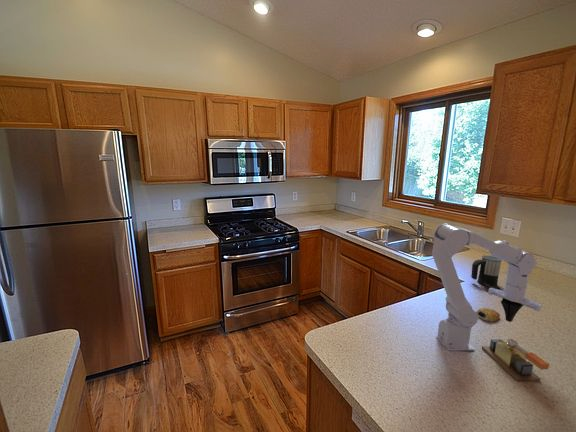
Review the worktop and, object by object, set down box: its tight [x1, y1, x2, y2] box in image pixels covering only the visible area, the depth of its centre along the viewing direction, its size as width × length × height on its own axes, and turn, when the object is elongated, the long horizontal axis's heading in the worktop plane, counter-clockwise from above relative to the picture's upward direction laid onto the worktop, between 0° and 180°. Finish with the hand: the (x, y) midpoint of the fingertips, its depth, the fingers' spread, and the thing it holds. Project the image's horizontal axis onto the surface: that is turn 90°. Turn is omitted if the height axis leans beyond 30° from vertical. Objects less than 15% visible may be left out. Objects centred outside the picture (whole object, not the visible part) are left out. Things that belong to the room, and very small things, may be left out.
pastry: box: [475, 307, 501, 323], centre depth 119 cm, size 9×7×4 cm
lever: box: [506, 338, 550, 371], centre depth 85 cm, size 12×3×2 cm, turn 6°
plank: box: [481, 345, 541, 382], centre depth 91 cm, size 7×15×1 cm, turn 2°
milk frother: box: [470, 255, 504, 291], centre depth 148 cm, size 14×16×15 cm
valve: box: [489, 338, 534, 375], centre depth 90 cm, size 5×13×5 cm, turn 2°
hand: (509, 320), depth 98 cm, fingers closed
